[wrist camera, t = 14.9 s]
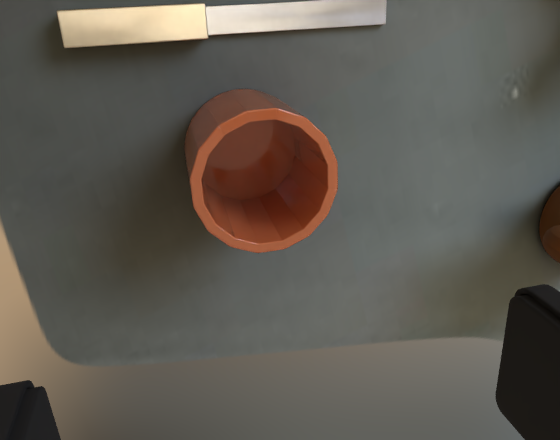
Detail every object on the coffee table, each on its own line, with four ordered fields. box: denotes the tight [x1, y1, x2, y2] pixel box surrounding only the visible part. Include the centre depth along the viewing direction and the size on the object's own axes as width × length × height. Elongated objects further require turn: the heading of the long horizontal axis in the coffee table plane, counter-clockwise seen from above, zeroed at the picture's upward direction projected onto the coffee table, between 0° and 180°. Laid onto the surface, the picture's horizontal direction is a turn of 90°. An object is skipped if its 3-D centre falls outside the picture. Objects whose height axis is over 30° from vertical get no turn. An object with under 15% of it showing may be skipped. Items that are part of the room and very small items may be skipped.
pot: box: [184, 89, 338, 253], centre depth 26 cm, size 7×7×7 cm
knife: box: [57, 0, 386, 48], centre depth 26 cm, size 17×2×1 cm, turn 93°
